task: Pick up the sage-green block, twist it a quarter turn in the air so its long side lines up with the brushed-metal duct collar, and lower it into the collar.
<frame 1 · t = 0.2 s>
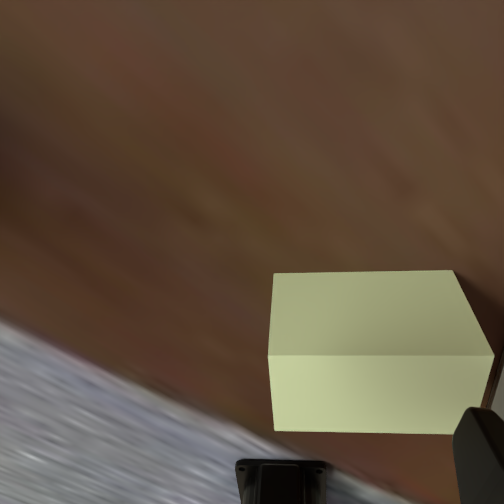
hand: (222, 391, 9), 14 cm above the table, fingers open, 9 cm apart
green block: (358, 308, 25), on the table
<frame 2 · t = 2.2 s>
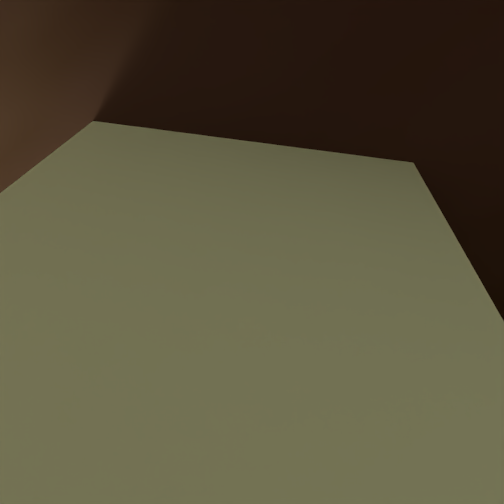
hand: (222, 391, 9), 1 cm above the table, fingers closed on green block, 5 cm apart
green block: (230, 347, 10), on the table, touching gripper
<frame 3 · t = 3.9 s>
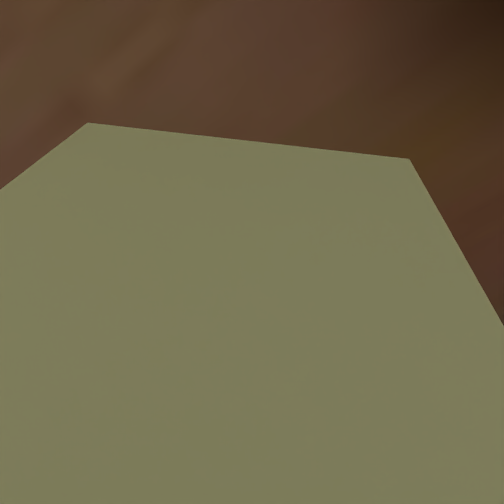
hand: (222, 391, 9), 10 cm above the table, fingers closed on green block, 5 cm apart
green block: (229, 351, 10), point 9 cm above the table, touching gripper
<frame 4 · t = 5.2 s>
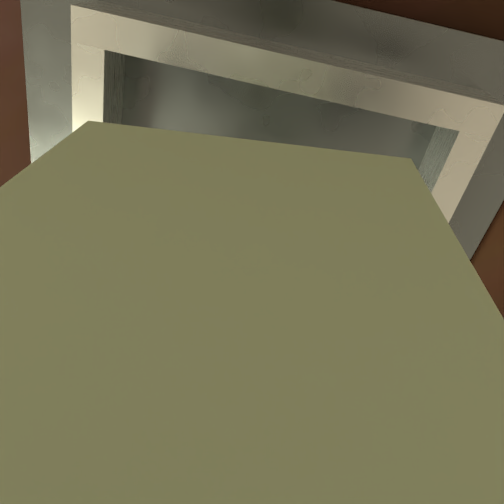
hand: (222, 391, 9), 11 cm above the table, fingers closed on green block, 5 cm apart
green block: (229, 350, 9), point 10 cm above the table, touching gripper
duct collar: (265, 166, 18), on the table
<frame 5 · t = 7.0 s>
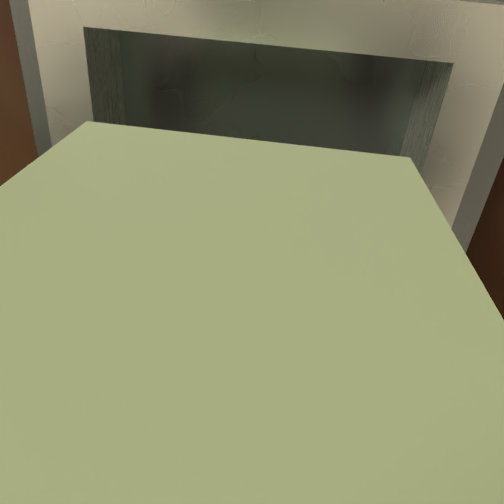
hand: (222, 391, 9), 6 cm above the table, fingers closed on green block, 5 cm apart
green block: (229, 350, 9), point 5 cm above the table, touching gripper
duct collar: (253, 231, 14), on the table
when the fingers open (3 cm above the table, at t = 8.1 s): green block drops 1 cm, resting on duct collar.
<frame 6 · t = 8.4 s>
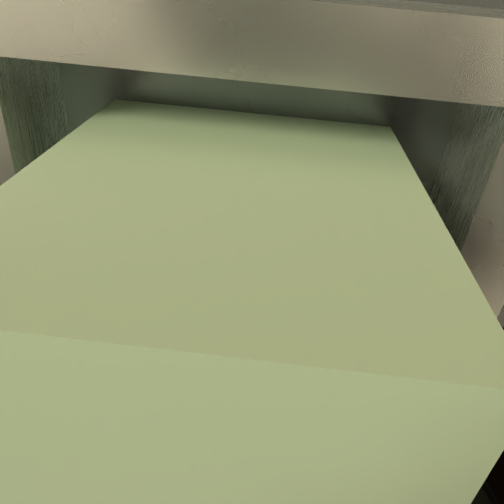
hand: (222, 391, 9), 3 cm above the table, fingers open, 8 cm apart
green block: (237, 306, 11), resting on duct collar
duct collar: (241, 294, 11), on the table
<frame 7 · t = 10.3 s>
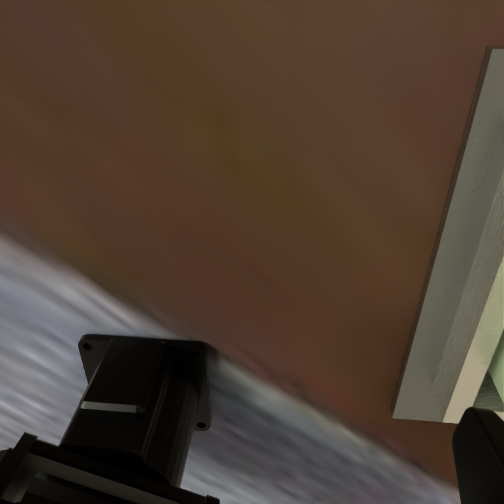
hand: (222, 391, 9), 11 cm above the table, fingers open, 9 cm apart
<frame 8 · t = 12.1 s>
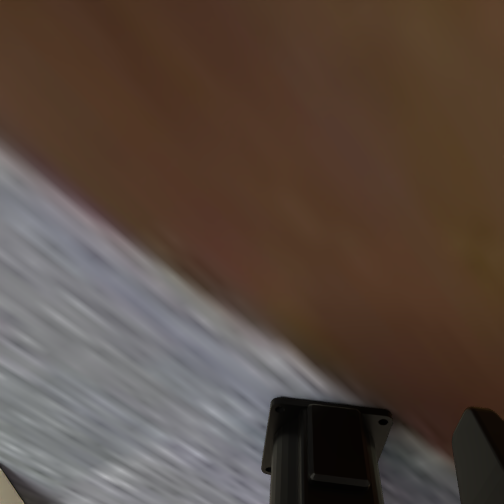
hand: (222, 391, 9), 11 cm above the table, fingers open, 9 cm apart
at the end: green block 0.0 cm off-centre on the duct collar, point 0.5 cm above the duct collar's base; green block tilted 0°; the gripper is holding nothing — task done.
